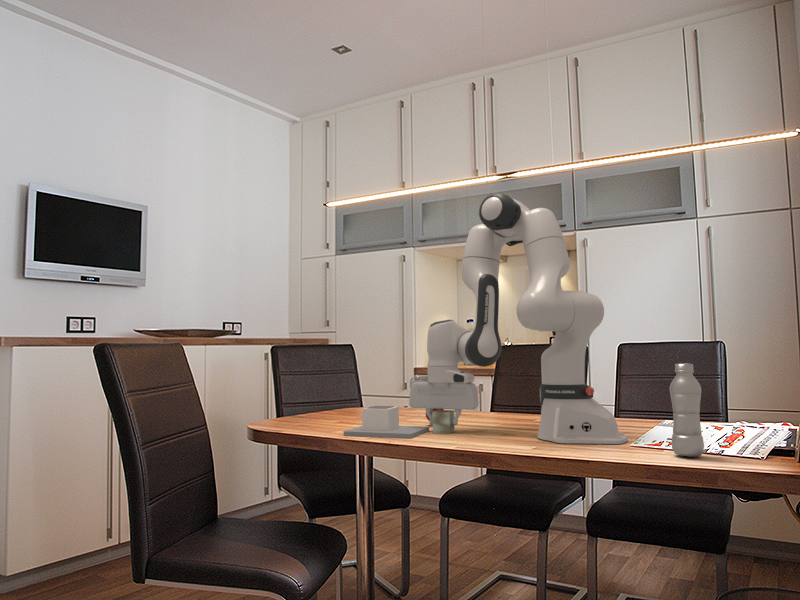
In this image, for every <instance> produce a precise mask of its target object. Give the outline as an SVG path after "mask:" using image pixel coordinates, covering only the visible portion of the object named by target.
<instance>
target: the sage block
mask: <svg viewBox="0 0 800 600" xmlns="http://www.w3.org/2000/svg"><path fill="white" fill-rule="evenodd" d="M432 417H433V424H432V434H444V435H446V434H447V435H450V434H452V433H454V432H455V431H456V430H455V427H456V425H451V419H453V418H454V417H455V412H454V409H443V410H436V411H433V412H432Z"/></svg>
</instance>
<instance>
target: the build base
mask: <svg viewBox="0 0 800 600" xmlns="http://www.w3.org/2000/svg"><path fill="white" fill-rule="evenodd" d="M361 413H362V414H361V416H362V421H361V422H362V423H361V424H362V425H360V426H357V427H354V428H353V427H352V428H350V429H346V430H344V431H343V436H344V437H364V438H365V437H366V438H385V439H387V438H389V439H390V438H391V439H414V438H415V437H419V436H420V435H424V434H426V433H427V432H430V426H419V425H418V426H417V425H400V421H399V420H400V410H399V406H394V405H372V406H367V407H364V408H363V407H362V409H361Z"/></svg>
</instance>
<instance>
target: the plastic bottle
mask: <svg viewBox="0 0 800 600" xmlns="http://www.w3.org/2000/svg"><path fill="white" fill-rule="evenodd" d="M674 372H675V373H676V375H675V376H674V377H673V379H672V381H671V383H670V385H669V394H670V395H669V396H670V400H671V406H672V413H673V414H672V416H673V423H672V436H671V442H670V443H671V449H672V452H673V453H674V455H678V456H680V457H684V456H689V457H688V458H693V457H692V456H696V457H700V456H702V454H703V453H704V450H705V443H704V438H703V435H702V427H701V415H700V412H701V397H702V386H701V383H699V381H698V379H697V378H696V377H695V376H694V375H693V373H695V370H694V364H693V363H675V364H674Z"/></svg>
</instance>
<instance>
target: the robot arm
mask: <svg viewBox="0 0 800 600" xmlns="http://www.w3.org/2000/svg"><path fill="white" fill-rule="evenodd" d="M478 216H479V219H480V221H481V222H482V223H480V224H476V225H474V226H473V227H471V229H470V230H469V232H468V234H467V237H466V241H465V245H464V250H463V256H462V263H461V279H462V281H463V283H464V285H465V286H466V287H467V288H469V290H471V291H472V292H473V294H474V297H475V300H476V301H475V303H476V304H475V318H474V319H475V322H474V328H473V330H471V329H468V328H466V327H465V326H464V327H463V326H462V325H460V324H459V323H457V322H456V320H453V319H446V320H440V321H439V320H438V321H434V322H433V323H431V324H430V325H429V327H428V331H427V339H426V340H427V342H426V351H427V355H428V361H427V375H421V376H419V375H414V376H413V377H412V378H411V379H410V380H409V389H410V391H409V399H408V400H409V401H408V402H409V403H408V404H409V406H410V407H411V408H412V409H425V415H426V414H427V415H428V417H429V418H430V421H429V425H433V417H432V413H431V412H433V409H443V410H454V418H453V419H451V425H455V426H458V425H459V418H460V416H461V414H462V410H469V411H470V410H471V411H472V410H476V409H477V408H479V393H478V388H477V385H476V384H475V383H474V381H475V375H474V374H472V373H469V372H466V371H462V370H460V369H459V363H463V364H466V365H468V364H469V365H473V366H474V365H475V366H478V367H481V368H482V367H490V366H492V365H493V364H495V363H496V362H498V360H499V359H500V356H501V354H502V348H503V347H502V340H501V337H500V334H499V310H500V309H499V305H500V304H499V303H500V287H499V285H500V283H499V275H500V274H499V273H500V263H501V256H502V255H501V253H502V250H503V247H504V246H505V245H506V246H509V247H513V246H516V245H519V244H523V248H524V253H525V259H526V262H527V267H528V273H529V275H528V276H529V278H528V279H529V281H528V286H527V288H526V291H524V293H523V294H522V295H521V296H520V298H519V300H518V301H517V304H516V317H517V319H518V321H519V324H520V325H521V326H523V327H524V328H526V329H529V330H533V331H537V332H555V336H554V339H553V342H552V344H551V345H550V346H549V347H548V348H545V350H544V351H543V352H542V354H541V355H540V356H541V357H540V359H541V360H540V368H541V372H540V373H541V384H540V385H539V401H540V405H541V410H540V411H541V412H540V420H539V421H540V422H539V427H538V432H537V435H536V437H537V439H540V440H544V441H550V442H553V443H557V444H587V445H588V444H589V445H590V444H596V445H597V444H599V445H600V444H601V445H621V444H626V443H627V442H628V436H627V435H626V434H624V433H621V432H619V427H618V423H617V419H616V417H615V416H614V414H613V413H612V412H611V411H609V410H608V409H607V408H606V407H604V406H603V405H602V404H601V403H599V402H597V401H596V400H595V399H594V393H595V389H594V387H592V386H590V385H588V384H586V382H585V381H586V378H585V377H586V376H585V373H586V372H585V370H586V368H585V364H586V363H585V358H586V357H585V356H586V350H587V346H588V343H589V341H590V339H591V336H592V334H593V332H594V331H596V329H597V328H598V327H599V326H600V325H601V323H602V322H603V320H604V316H605V307H604V304H603V301H602V300H601V298H599V297H598V296H597V295H595V294H593V293H589V292H585V291H580V290H564V289H563V288H562V282H561V281H562V278H564V277H565V276H566V275H567V273H568V272H569V271H570V269H571V260H570V258H569V253H568V249H567V246H566V242H565V238H564V235H563V234H564V233H563V232H562V229H561V226H560V224H559V222H558V220H557V218H556V216H555V213H554V212H553V211H552V210H550V209H548V208H545V207H537V208H533V209H530V208H528V207H527V206H526V205H525V204H523V203H522V202H521V201H520V200H517V199H515V198H514V197H511V196H510V195H507V194H505V193H500V192H497V193H491V194H489V195H487V196H486V197H485V198H484V199H483V200H482V201H481V204H480V206H479V210H478Z"/></svg>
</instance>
